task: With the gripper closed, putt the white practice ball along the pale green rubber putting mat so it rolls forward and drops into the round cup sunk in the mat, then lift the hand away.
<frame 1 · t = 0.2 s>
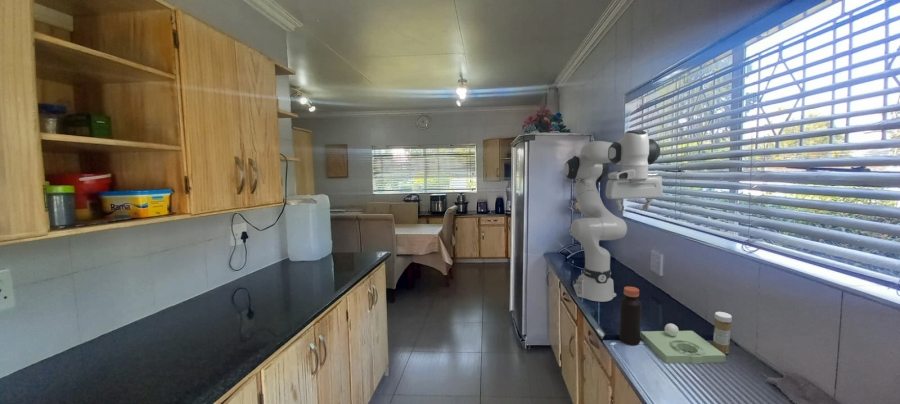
hand: (633, 210, 129), 47 cm above the countertop, fingers open, 8 cm apart
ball: (671, 329, 123), point 5 cm above the countertop, touching putting mat
vinegar: (629, 341, 125), on the countertop
sprinkles bottle: (720, 351, 117), on the countertop
putting mat: (679, 349, 119), on the countertop
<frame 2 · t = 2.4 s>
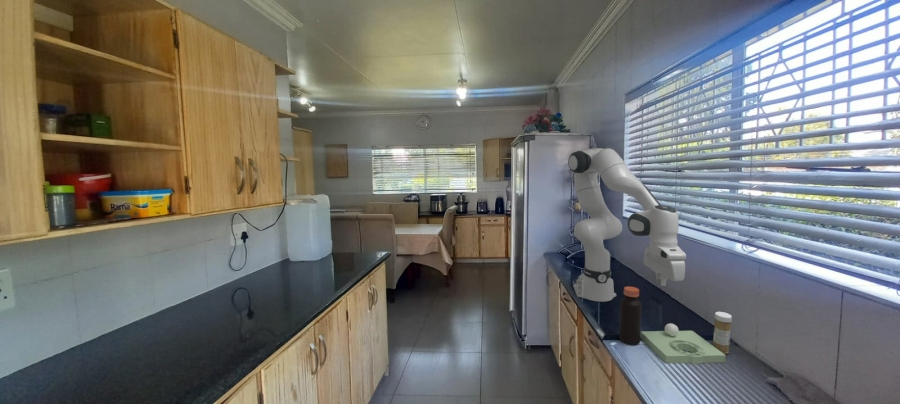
hand: (661, 284, 129), 19 cm above the countertop, fingers closed
nothing on the countertop moved.
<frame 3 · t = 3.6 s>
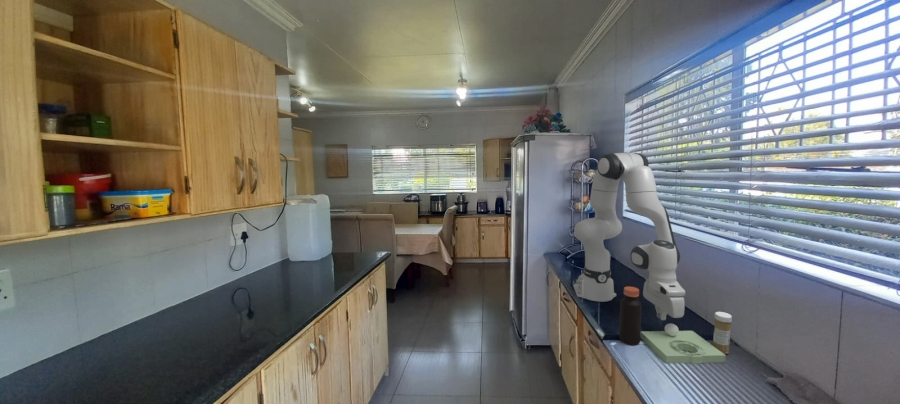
hand: (661, 318, 130), 5 cm above the countertop, fingers closed
nothing on the countertop moved.
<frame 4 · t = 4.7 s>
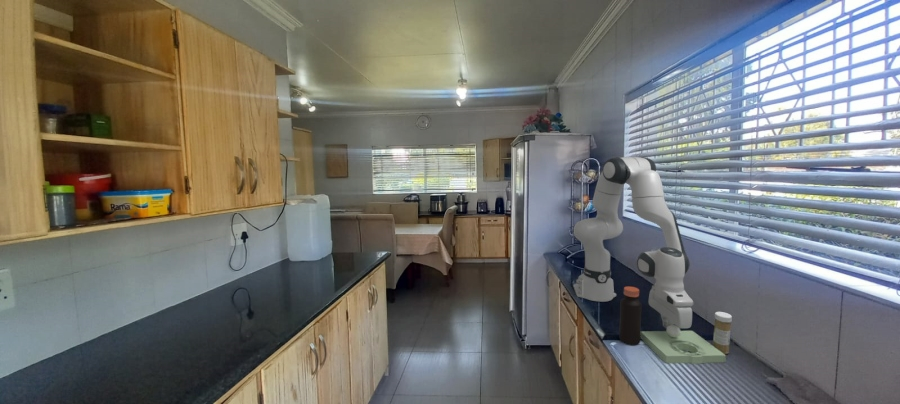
hand: (667, 328, 126), 4 cm above the countertop, fingers closed
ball: (673, 331, 122), point 5 cm above the countertop, tilted 25°, touching putting mat
everything else where it was.
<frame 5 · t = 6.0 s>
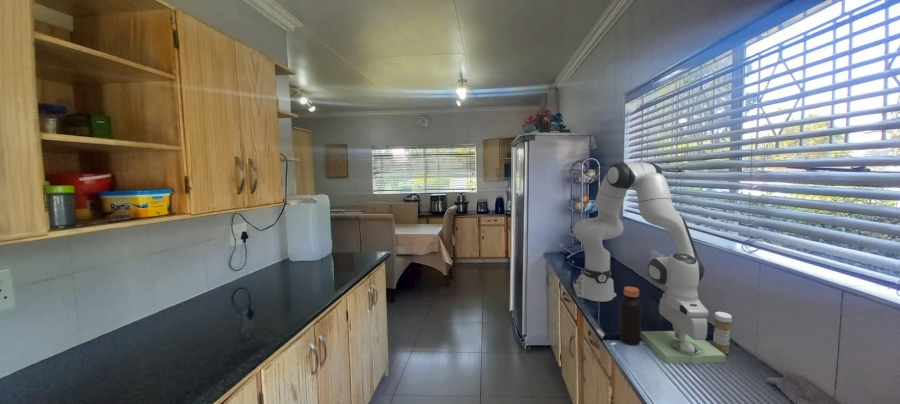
hand: (679, 338, 119), 4 cm above the countertop, fingers closed
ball: (687, 349, 115), point 2 cm above the countertop, tilted 106°
everything else where it was.
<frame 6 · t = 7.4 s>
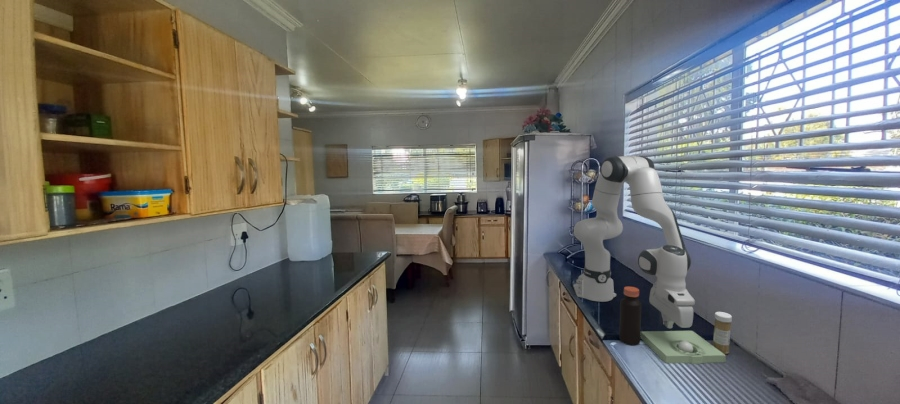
hand: (667, 326, 125), 5 cm above the countertop, fingers closed
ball: (685, 347, 116), point 2 cm above the countertop, tilted 129°
everything else where it was.
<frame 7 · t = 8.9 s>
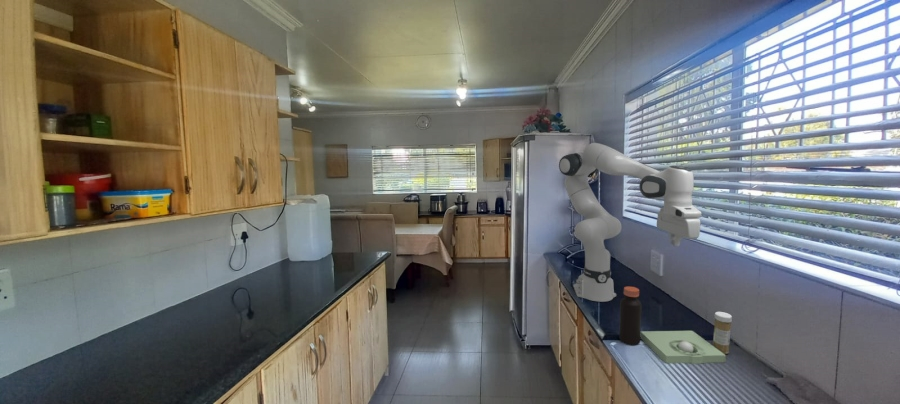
hand: (675, 245, 129), 34 cm above the countertop, fingers closed
nothing on the countertop moved.
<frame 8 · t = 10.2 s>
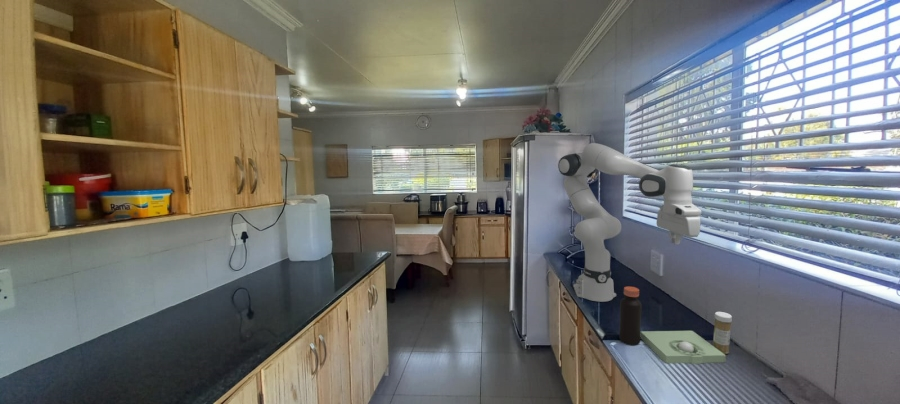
hand: (675, 243, 129), 34 cm above the countertop, fingers closed
nothing on the countertop moved.
at the end: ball 0.5 cm from the target spot in the putting mat, point 2.1 cm above the putting mat's base; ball touching countertop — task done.
